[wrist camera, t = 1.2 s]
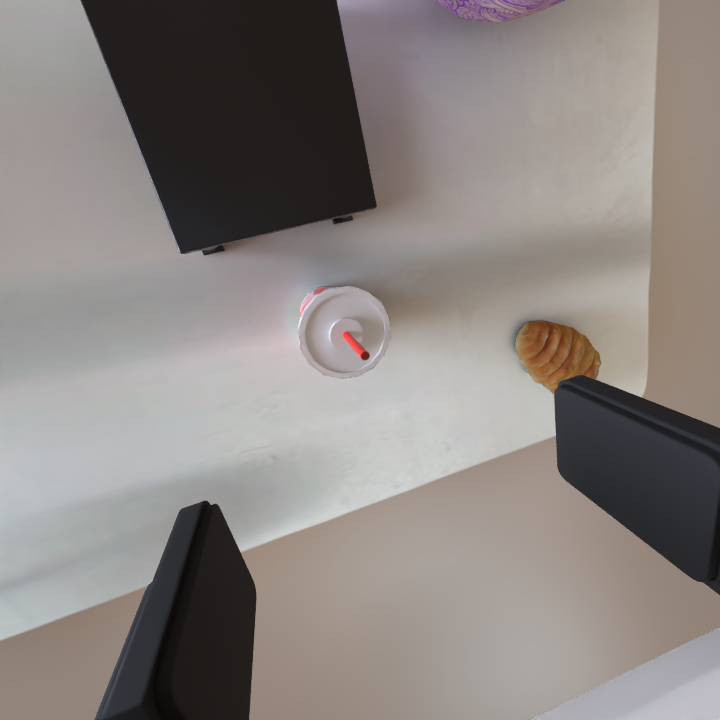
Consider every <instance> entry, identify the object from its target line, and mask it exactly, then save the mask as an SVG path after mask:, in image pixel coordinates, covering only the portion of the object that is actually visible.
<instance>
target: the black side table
mask: <svg viewBox="0 0 720 720" xmlns="http://www.w3.org/2000/svg"><path fill="white" fill-rule="evenodd" d="M81 3H82V5H83V8H84V11H85V13H86V16H87V18H88V21H89V23H90V26H91V28H92V31H93V33H94V36H95V38H96V41H97V44H98V46H99V49H100V51H101V54H102V56H103V59H104V61H105V64H106V66H107V69H108V72H109V74H110V77H111V79H112V82H113V84H114V87H115V89H116V92H117V94H118V97H119V99H120V102H121V105H122V107H123V110H124V112H125V115H126V117H127V120H128V122H129V125H130V127H131V130H132V133H133V135H134V138H135V140H136V143H137V145H138V148H139V150H140V153H141V155H142V158H143V160H144V163H145V166H146V168H147V171H148V173H149V176H150V178H151V181H152V183H153V186H154V188H155V191H156V194H157V196H158V199H159V201H160V204H161V206H162V209H163V211H164V214H165V216H166V219H167V221H168V224H169V227H170V229H171V232H172V234H173V237H174V239H175V242H176V244H177V247H178V249H179V252H180V253H181V254H186V253H190V252H195V251H199V250H202V252H203V255H209V254H213V253H217V252H221V251H225V250H224V247H223V245H224V244H228V243H233V242H237V241H241V240H245V239H249V238H254V237H258V236H262V235H266V234H271V233H275V232H279V231H283V230H287V229H292V228H296V227H300V226H304V225H308V224H313V223H317V222H321V221H325V220H330V219H333V223H334V224H338V223H342V222H346V221H350V220H353V218H352V215H354V214H356V213H359V212H363V211H367V210H372V209H374V208H376V207H377V205H376V200H375V195H374V189H373V184H372V179H371V174H370V169H369V164H368V159H367V154H366V149H365V143H364V138H363V133H362V128H361V123H360V118H359V113H358V108H357V103H356V98H355V92H354V87H353V82H352V77H351V72H350V67H349V62H348V57H347V52H346V47H345V41H344V36H343V31H342V26H341V21H340V16H339V11H338V6H337V1H336V0H81Z"/></svg>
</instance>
